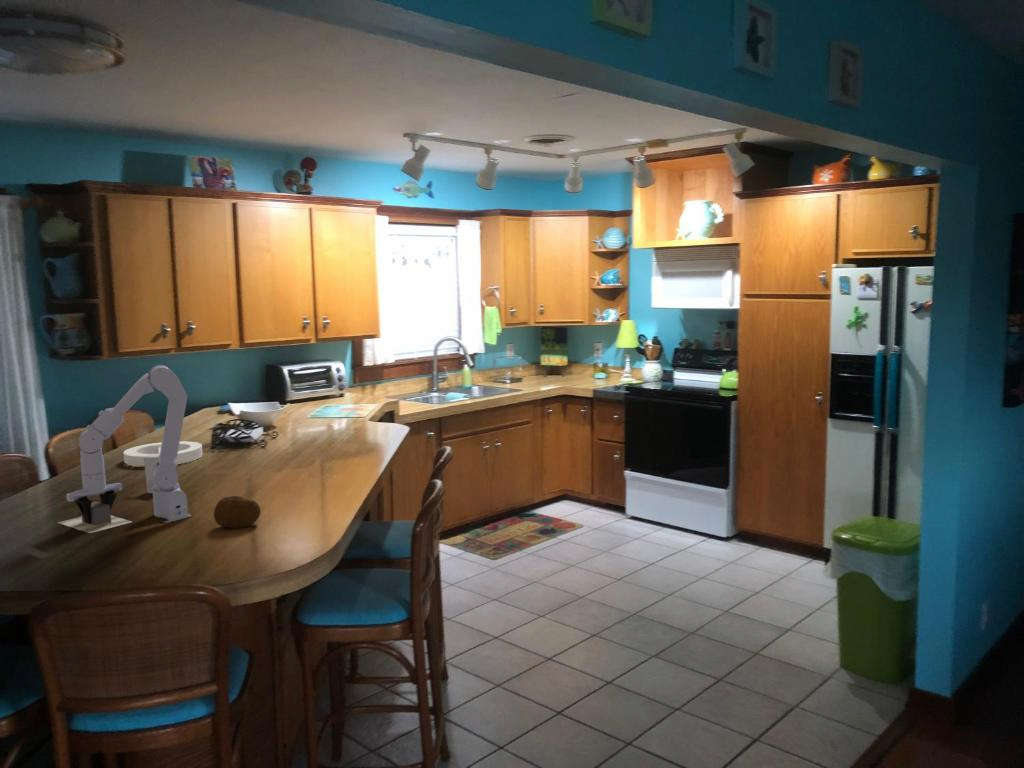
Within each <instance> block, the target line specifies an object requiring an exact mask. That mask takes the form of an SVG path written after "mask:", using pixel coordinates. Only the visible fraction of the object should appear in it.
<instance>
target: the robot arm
mask: <svg viewBox="0 0 1024 768" xmlns="http://www.w3.org/2000/svg"><path fill="white" fill-rule="evenodd" d="M155 389H156V390H158V391H160V392H162V393H163V395H164V396H165V397H166V398H167V400H168V405H167V408H166V409H167V411H166V416H165V421H164V429H163V434H162V439H161V442H162V444H161V450H160V454H159V457H158V462H157V464H156V465H155V467H154V468H153V471H152V475H153V478H154V483H155V485H154V486H153V487H152V491H153V493H152V503H153V512H154V513H153V514H154V517H156V518H162V519H163V518H164V519H163V520H160V521H159V523H165V524H169V523H172V521H173V522H176V521H179V520H183V519H187V518H189V517H191V516H192V515H191V514H189V508H188V497H187V493H185V492H184V491H183V490H181V486H180V483H179V482H178V481H179V474H178V473H177V466H178V465H177V454H178V448H179V442H180V441H181V436H182V431H183V425H184V424H183V423H184V418H185V414H186V413H185V412H186V407H187V402H188V394H187V393H186V391H185V389H184V387H183V385H182V382H181V380H180V379H179V377H178V376H177V374H175V372H173V371H172V369H171V368H169V367H168V366H166V365H162V364H157V365H154V366H153V367H152V368H150V370H149V371H148V372H146V373H145V374H144V375H142V376H141V377H140V378H138V380H137V381H136V382H135V383H134V384H133V385H132V386H131V388H130V389H129V390H128V391H127V392H126V393H125V394H124V395H123V396H122V398H120V400H119V401H118V402H117V404H116V405H114V407H109V408H105V409H104V410H100V411H99V412H98V417H96V419H94V421H93V422H92V423H91V424H88V425H87V426H86V427H85V429H86V430H84V431H83V432H81V434H80V435H79V438H78V446H79V448H80V452H79V453H80V459H79V461H80V470H81V480H82V481H81V483H82V489H79V490H76V491H72V492H70V493H66V497H65V498H66V501H67V502H70V503H72V502H74V503H75V504H76V506H77V507H78V509H79V511H80V514H81V516H82V515H83V517H84V520H85V523H88V524H90V523H91V503H93V502H92V500H91V499H89V498H90V497H94V496H99V498H100V503H104V504H107V505H110V512H111V511H112V507H113V505H114V502H115V499H116V498H117V491H122V490H123V483H121V482H115V483H108V484H107V481H106V480H107V479H106V469H105V459H104V458H105V457H104V455H103V449H102V447H103V445H104V441H105V440H107V439H109V438H110V437H111V436H112V435H113V434H114V433H115V432H116V430H117V429H118V428H119V427H120V426H121V425H122V424H123V423H124V420H125V419H124V415H125V414H126V412H128V411H129V410H130V409H131V408H132V407H133V406H134V405H135V404H136V402H138V401H139V400H140V399H141V398H142V397H143V395H146V394H150V393H154V392H155Z"/></svg>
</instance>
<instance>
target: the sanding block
mask: <svg viewBox="0 0 1024 768" xmlns="http://www.w3.org/2000/svg"><path fill="white" fill-rule="evenodd" d="M81 516H82V523H85V520H84V517H83V515H82V514H81ZM111 516H112V513H111V512H110V505H107V504H104V503H101V501H100V502H99V501H93V502H92V503H91V523H90V524H88V523H85V524H88V525H91V526H95V527H96V526H100V525H104V524H108V523H111Z"/></svg>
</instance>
